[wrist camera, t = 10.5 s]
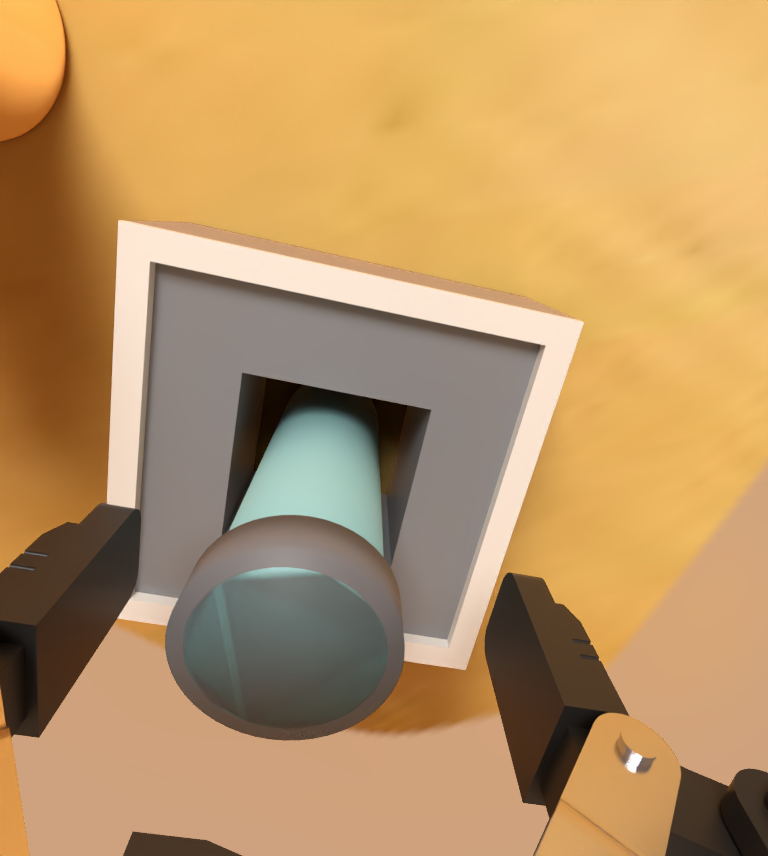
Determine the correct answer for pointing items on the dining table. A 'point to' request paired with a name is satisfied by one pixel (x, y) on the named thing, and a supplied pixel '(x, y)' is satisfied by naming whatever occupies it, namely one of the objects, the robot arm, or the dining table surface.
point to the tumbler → (29, 63)
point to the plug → (297, 585)
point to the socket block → (334, 370)
